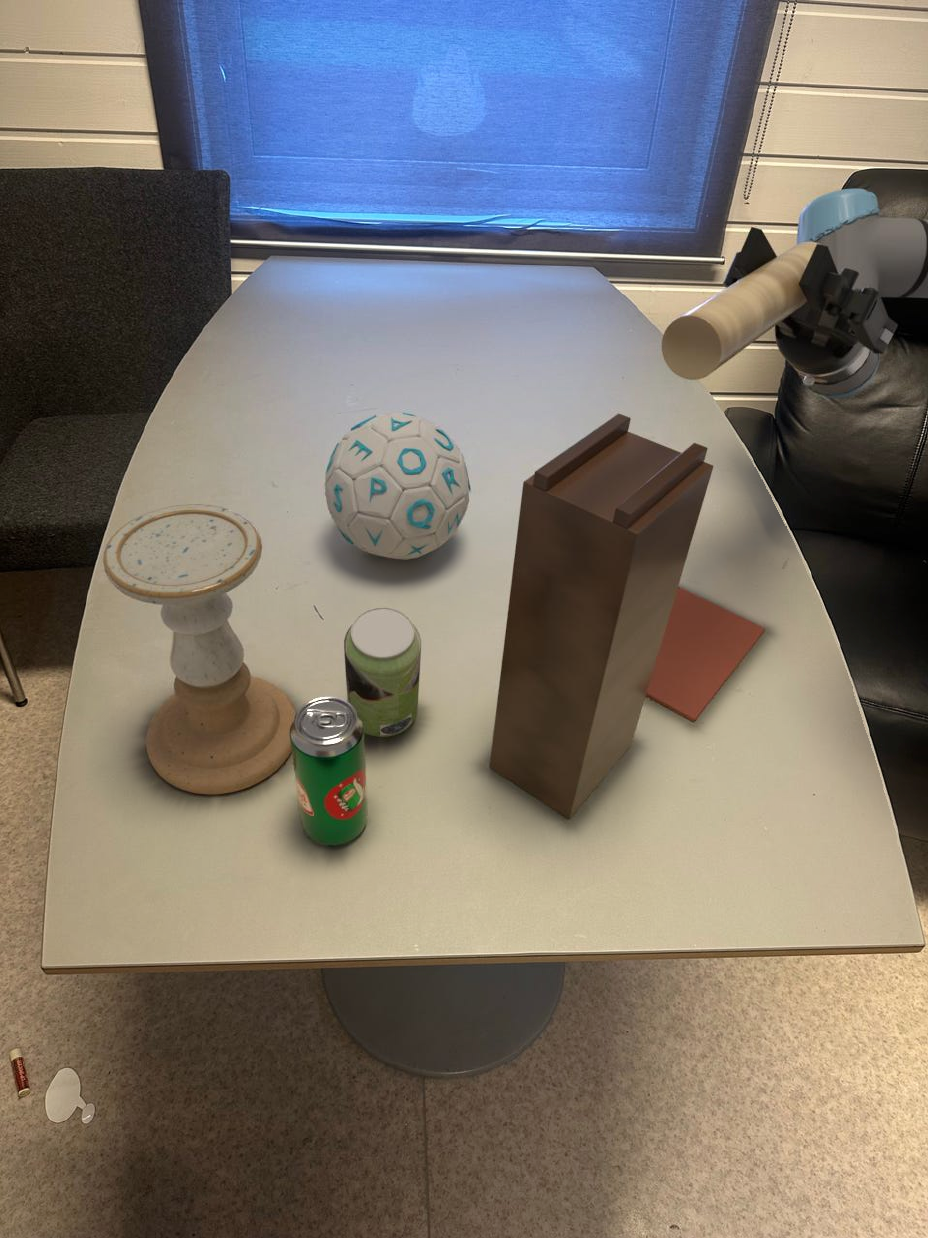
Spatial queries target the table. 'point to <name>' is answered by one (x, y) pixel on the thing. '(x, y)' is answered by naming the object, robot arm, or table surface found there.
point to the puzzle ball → (397, 486)
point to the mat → (698, 653)
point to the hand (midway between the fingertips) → (780, 256)
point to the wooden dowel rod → (736, 315)
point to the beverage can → (383, 670)
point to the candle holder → (203, 648)
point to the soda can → (330, 770)
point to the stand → (590, 606)
